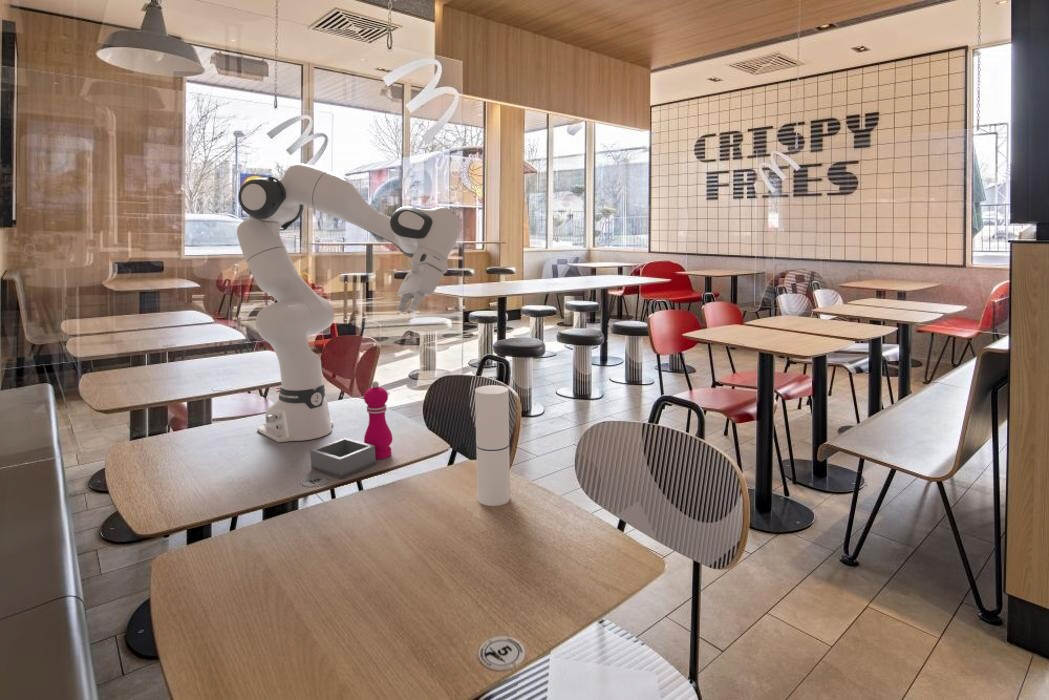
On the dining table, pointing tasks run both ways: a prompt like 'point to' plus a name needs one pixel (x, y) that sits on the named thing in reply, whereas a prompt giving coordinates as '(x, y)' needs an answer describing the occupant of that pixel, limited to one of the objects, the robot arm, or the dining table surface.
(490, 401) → the cylindrical container
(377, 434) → the pepper mill
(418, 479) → the dining table surface
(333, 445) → the box
